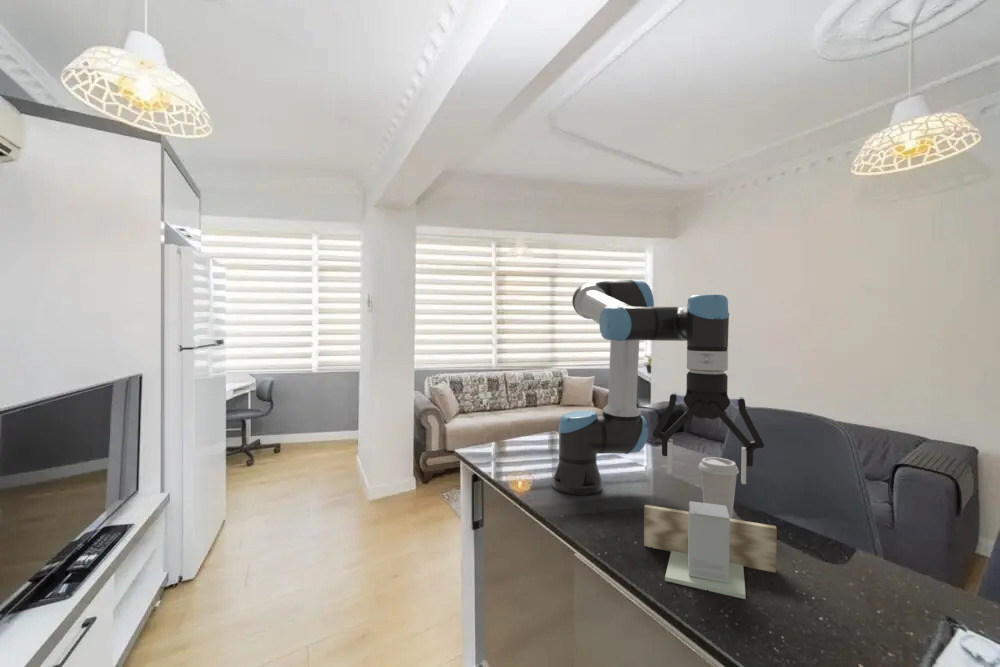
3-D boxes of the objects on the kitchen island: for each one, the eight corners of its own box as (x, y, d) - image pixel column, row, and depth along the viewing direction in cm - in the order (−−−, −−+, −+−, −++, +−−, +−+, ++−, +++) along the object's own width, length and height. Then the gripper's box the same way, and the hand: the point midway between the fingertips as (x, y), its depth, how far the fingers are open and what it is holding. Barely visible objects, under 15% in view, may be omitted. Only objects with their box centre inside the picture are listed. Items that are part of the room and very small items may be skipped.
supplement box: (729, 584, 88) (730, 518, 88) (687, 576, 91) (688, 512, 91) (726, 566, 95) (727, 505, 95) (688, 559, 98) (688, 499, 98)
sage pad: (664, 580, 91) (665, 576, 91) (671, 554, 102) (671, 550, 102) (745, 599, 85) (745, 594, 85) (743, 568, 96) (743, 565, 96)
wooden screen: (644, 546, 106) (644, 506, 105) (645, 543, 107) (645, 504, 107) (776, 572, 94) (776, 528, 94) (775, 569, 96) (775, 526, 95)
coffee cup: (743, 527, 116) (744, 467, 115) (702, 524, 118) (703, 465, 117) (732, 512, 125) (732, 457, 125) (694, 510, 127) (695, 455, 127)
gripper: (639, 370, 95) (638, 473, 95) (781, 376, 84) (779, 492, 84) (645, 367, 102) (644, 463, 102) (776, 373, 91) (775, 480, 91)
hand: (705, 477), depth 93 cm, fingers open, 13 cm apart
